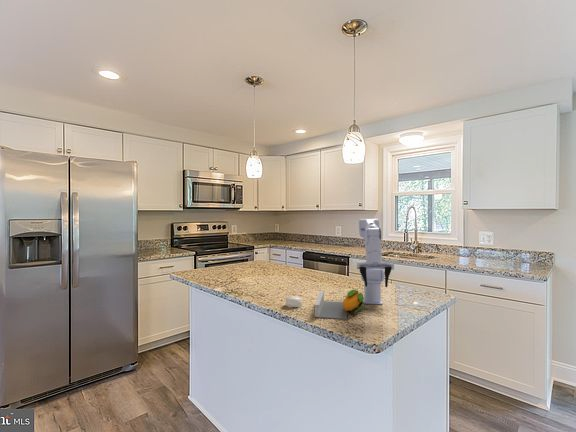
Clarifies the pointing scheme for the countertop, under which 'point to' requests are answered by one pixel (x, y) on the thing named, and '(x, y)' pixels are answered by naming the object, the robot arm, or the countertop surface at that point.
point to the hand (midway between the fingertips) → (376, 286)
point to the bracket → (329, 308)
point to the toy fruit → (353, 300)
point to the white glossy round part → (293, 301)
